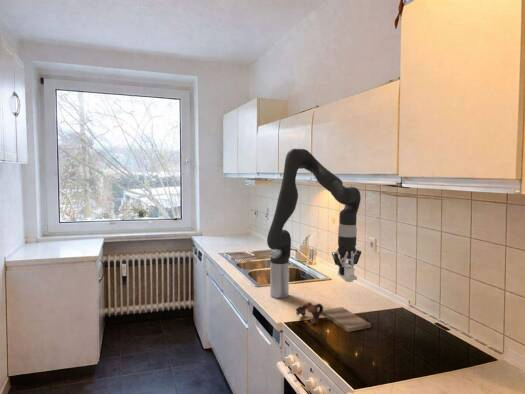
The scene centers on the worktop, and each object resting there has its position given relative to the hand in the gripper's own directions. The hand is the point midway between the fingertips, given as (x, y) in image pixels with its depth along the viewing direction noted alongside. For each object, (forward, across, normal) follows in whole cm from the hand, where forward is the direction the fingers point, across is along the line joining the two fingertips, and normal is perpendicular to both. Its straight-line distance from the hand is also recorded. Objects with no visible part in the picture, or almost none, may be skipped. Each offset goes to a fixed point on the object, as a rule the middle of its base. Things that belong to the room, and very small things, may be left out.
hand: (345, 274), depth 160 cm
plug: (+2, 0, +1) cm, 2 cm away
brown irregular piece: (+20, +14, -5) cm, 25 cm away
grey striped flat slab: (+19, +1, +2) cm, 19 cm away
